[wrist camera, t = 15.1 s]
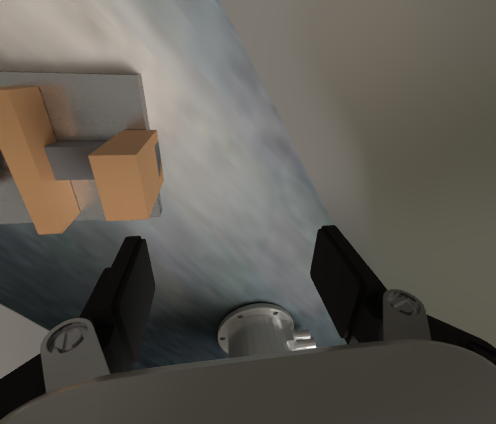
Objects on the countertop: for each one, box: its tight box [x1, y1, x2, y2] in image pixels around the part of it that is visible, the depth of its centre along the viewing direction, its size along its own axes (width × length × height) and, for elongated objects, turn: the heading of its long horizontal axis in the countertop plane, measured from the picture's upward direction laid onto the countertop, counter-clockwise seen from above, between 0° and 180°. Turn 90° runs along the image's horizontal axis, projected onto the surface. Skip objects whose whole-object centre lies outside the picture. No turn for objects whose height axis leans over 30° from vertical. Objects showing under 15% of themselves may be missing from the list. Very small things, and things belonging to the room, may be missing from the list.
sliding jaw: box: [0, 86, 164, 234], centre depth 21 cm, size 11×12×8 cm
